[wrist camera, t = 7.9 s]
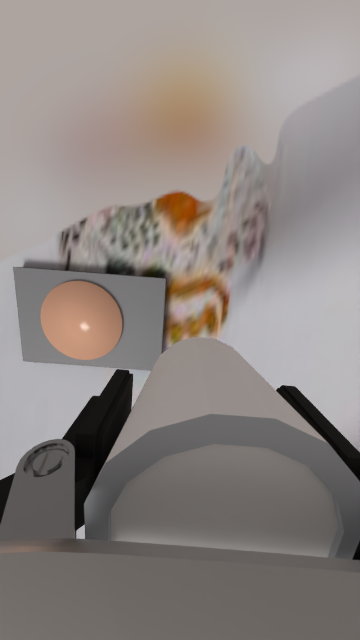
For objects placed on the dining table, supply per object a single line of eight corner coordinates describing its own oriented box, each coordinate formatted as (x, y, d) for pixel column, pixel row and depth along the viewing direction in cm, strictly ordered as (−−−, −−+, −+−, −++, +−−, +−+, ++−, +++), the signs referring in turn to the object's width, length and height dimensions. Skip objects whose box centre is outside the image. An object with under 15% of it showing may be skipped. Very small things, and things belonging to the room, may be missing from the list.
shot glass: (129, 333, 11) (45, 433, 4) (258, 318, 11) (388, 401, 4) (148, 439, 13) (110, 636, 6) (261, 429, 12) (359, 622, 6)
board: (166, 278, 26) (165, 278, 24) (161, 366, 29) (160, 371, 27) (22, 267, 26) (13, 266, 24) (31, 356, 29) (23, 361, 27)
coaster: (123, 284, 25) (122, 284, 24) (122, 361, 27) (121, 362, 27) (39, 277, 25) (37, 277, 24) (45, 355, 27) (43, 357, 26)
